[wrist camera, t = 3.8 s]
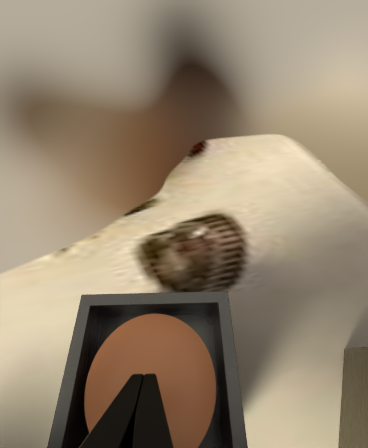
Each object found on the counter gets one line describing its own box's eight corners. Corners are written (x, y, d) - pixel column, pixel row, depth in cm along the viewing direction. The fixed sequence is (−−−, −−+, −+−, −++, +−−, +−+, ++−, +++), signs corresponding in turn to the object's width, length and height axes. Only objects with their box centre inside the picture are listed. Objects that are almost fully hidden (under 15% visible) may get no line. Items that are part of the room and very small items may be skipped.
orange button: (215, 451, 10) (223, 475, 7) (94, 454, 9) (68, 479, 7) (206, 321, 12) (210, 312, 10) (113, 323, 12) (98, 314, 10)
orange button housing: (221, 442, 14) (256, 519, 7) (107, 445, 13) (29, 526, 7) (211, 319, 17) (227, 291, 11) (122, 322, 17) (81, 294, 11)
